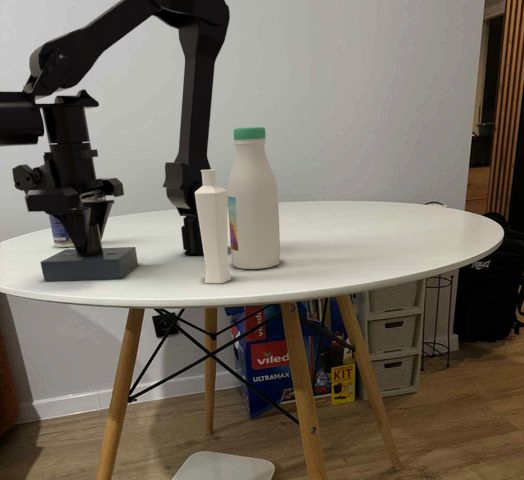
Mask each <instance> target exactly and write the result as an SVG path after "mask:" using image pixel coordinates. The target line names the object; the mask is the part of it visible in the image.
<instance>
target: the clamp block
mask: <svg viewBox="0 0 524 480" xmlns="http://www.w3.org/2000/svg"><path fill="white" fill-rule="evenodd" d="M102 249H103V253H102V254H99V255H94V256H77V254H76V249H75V248H66V249H63V250H61V251H59V252H57V253H55V254H53V255H51V256H50V257H47V258H45V259H43V260H41V261H40V267H41V271H42V275H43V281H44V282H61V281H62V282H63V281H64V282H65V281H93V280H94V281H96V280H97V281H98V280H99V281H100V280H121V279H123V278H124V277H125V276H126V275H127V274H129V273H130V272H131V271H132V270H134V269H135V268H136V267H137V266H138V265H139V261H138V255H137V249H136V246H122V247H121V246H119V247H102Z"/></svg>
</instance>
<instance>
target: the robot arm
mask: <svg viewBox="0 0 524 480" xmlns="http://www.w3.org/2000/svg"><path fill="white" fill-rule="evenodd" d="M151 17H155V18H156V19H159V21H161V22H162V23H164V24H165V25H167V26H168V27H171V28H173V29H175V30H178V31H177V32H178V41H179V44H180V47H181V50H182V53H183V56H184V68H183V69H184V70H183V83H182V84H183V85H182V98H181V110H180V111H181V112H180V125H179V126H180V127H179V139H178V151H177V155H176V156H175V158H174V161H172V162H169V161H166V162H165V163H164V174H165V176H164V177H165V178H164V182H163V184H162V188H165V191H166V197H167V199H168V200H169V202H170V203H171V205H173V206H174V207H175V208H176V211H177V213H178V215H179V216H180V217H183V219H182V220H183V225H182V226H181V227H180V228H181V229H180V230H181V231H180V232H181V239H182V247H183V248H182V249H183V250H184V256H200V255H201V256H202V255H203V256H204V251H203V245H202V238H201V232H200V225H199V219H198V212H197V206H196V199H195V191H197V190H198V189H199V188H200V187H202V186H203V181H202V172H201V170H209V169H212V168H211V164H210V161H209V158H208V148H209V138H210V137H209V136H210V126H211V125H210V124H211V113H212V102H213V92H214V91H213V90H214V77H215V67H216V60H217V59H218V57H219V54H220V52H221V50H222V48H223V46H224V43H225V41H226V38H227V33H228V29H229V25H230V19H231V12H230V6H229V5H228V4H227V2H226V0H119V1H117V2H116V3H115V4H113V5H112V6H110V7H109V8H108V9H107V10H105V11H104V12H102V13H100V14H99V15H98V16H97V17H96V18H94V19H93V20H91V21H90V22H89V23H87V24H86V25H85V26H82V27H81V28H77V29H75V30H73V31H69V32H67V33H64V34H62V35H60V36H57V37H55V38H53V39H50V40H48V41H46V42H45V43H43V44H42V45H40V46H38V47H36V48H35V50H33V52H32V53H31V54H30V56H29V60H28V61H29V62H28V68H29V72H30V74H29V76H28V79H27V80H26V82H25V84H24V85H23V88H22V90H21V91H0V147H18V146H37V145H38V143H39V138H43V137H44V135H45V133H46V136H47V142H48V147H49V151H44V152H43V156H42V157H43V158H42V159H43V164H42V165H39V166H34V167H33V168H32V167H30V165H28V164H18V165H17V166H15V167H12V168H11V171H12V178H13V179H12V180H13V183H14V188H15V190H18V191H21V192H24V194H25V195H24V201H25V206H26V210H27V212H28V213H33V212H34V213H36V212H41V213H42V212H44V213H45V214H46V215H49V214H50V215H52V216H53V217H55V218H56V219H58V220H59V221H60V222H61V224H62V225H63V227H64V228H65V230H66V232H67V233H68V235H69V237H70V239H71V241H72V242H73V244H74V246H73V247H74V249H75V248H76V250H77V251H78V253H79V254H86V251H87V244H88V233H89V223H98V225H99V231H100V237H101V241H102V239H103V236H104V232H105V230H106V226H107V221H108V219H109V216H110V213H111V210H112V207H113V205H114V204H115V200H114V199H107V197H108V196H109V197H110V196H111V197H112V196H113V197H114V198H119V197H122V196H125V191H124V185H123V182H122V181H120V180H119V179H118V178H117V177H101V178H97V174H96V168H95V162H94V158H98V157H99V153H98V149H97V148H96V149H95V148H94V149H92V145H91V139H90V133H89V127H88V121H87V115H86V109H94V108H98V107H100V103H99V101H98V100H96V99H95V98H94V97H93V96H91V95H90V94H89V92H88V91H87V89H85V88H82V89H80V90H78V91H77V93H76V94H75V95H56V96H55V97H54V101H53V102H52V103H37V102H36V101H38V100H41V99H44V98H47V97H50V96H52V95H53V94H55V93H60V92H63V91H67V90H69V89H72V88H74V87H76V86H77V85H78V84H80V83H81V82H82V80H83V79H84V78H85V77H86V76H87V74H89V72H90V71H91V69H93V67H94V65H95V64H96V62H98V59H99V58H100V57H101V56H102V55H103V53H104V52H105V51H107V50H108V49H110V48H112V46H113V45H115V44H116V43H117V42H119V41H120V40H121V39H122V38H124V37H125V36H127V35H129V33H131V32H132V31H134V30H135V29H136V28H137V27H139V26H140V25H142V24H143V23H144V22H146V21H147V20H148V19H149V18H151Z"/></svg>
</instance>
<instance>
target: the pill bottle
mask: <svg viewBox="0 0 524 480" xmlns="http://www.w3.org/2000/svg"><path fill="white" fill-rule="evenodd" d="M48 218H49V223H50V229H51V234H52V239H53V243H54V246H55V247H57V248H72V247H75V246H74V244H73V242H72V241H71V239H70V237H69V235H68V233H67V232H66V230H65V228H64V227H63V225H62V224H61V222H60V221H59V220H58V219H56V218H55V217H53V216H52V215H50V214H48Z"/></svg>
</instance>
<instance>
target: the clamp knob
mask: <svg viewBox="0 0 524 480" xmlns="http://www.w3.org/2000/svg"><path fill="white" fill-rule="evenodd" d="M102 248H103V244H102V240H101V237H100V231H99V225H98V223H89V233H88V244H87V251H86V254H79V253H78V251H77V250H76V254H77V256H94V255H99V254H102V253H103V249H102ZM74 249H76V248H75V247H74Z"/></svg>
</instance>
